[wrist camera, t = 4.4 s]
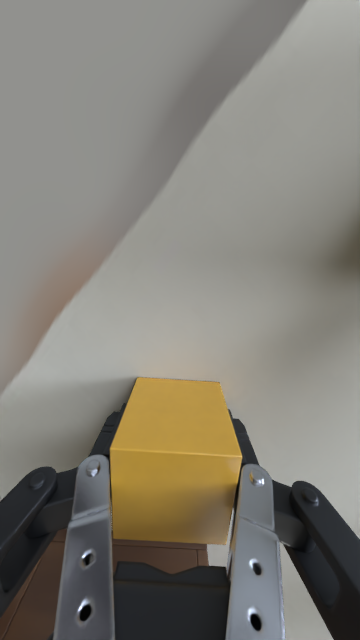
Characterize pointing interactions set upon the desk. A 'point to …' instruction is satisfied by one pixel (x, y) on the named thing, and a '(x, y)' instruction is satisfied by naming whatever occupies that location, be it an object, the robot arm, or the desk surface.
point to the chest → (44, 581)
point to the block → (174, 464)
